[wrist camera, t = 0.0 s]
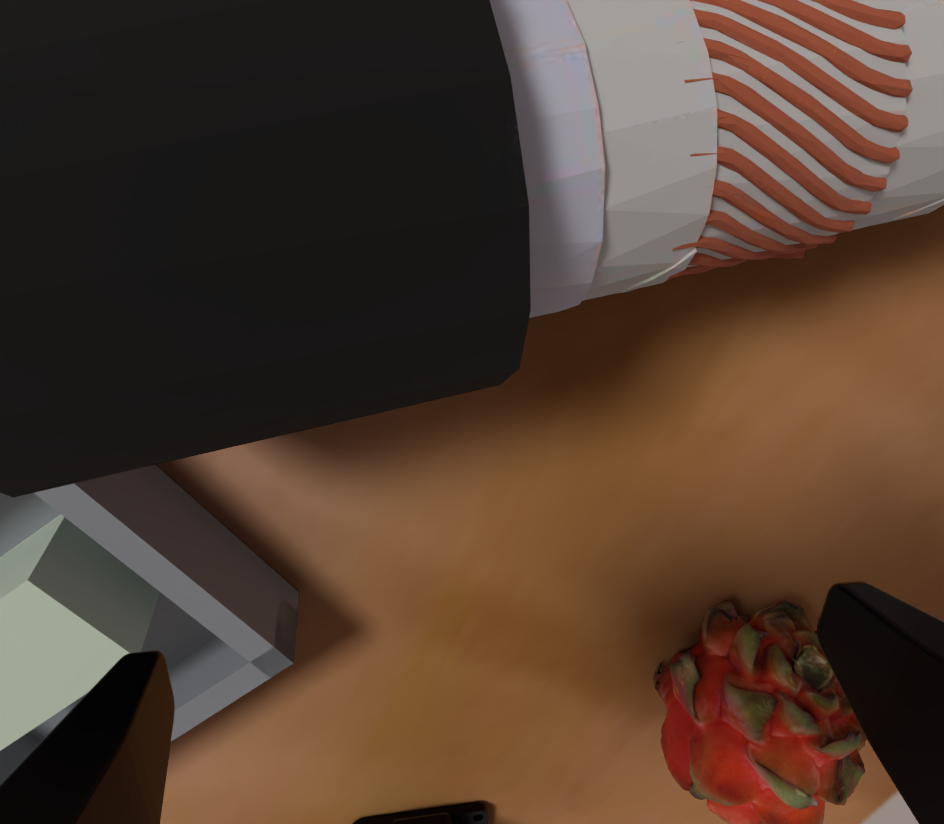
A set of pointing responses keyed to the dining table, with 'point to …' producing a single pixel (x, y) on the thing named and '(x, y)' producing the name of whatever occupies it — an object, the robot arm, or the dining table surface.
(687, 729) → the dragon fruit
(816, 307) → the dining table surface
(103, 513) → the tray
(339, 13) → the black and white bottle
